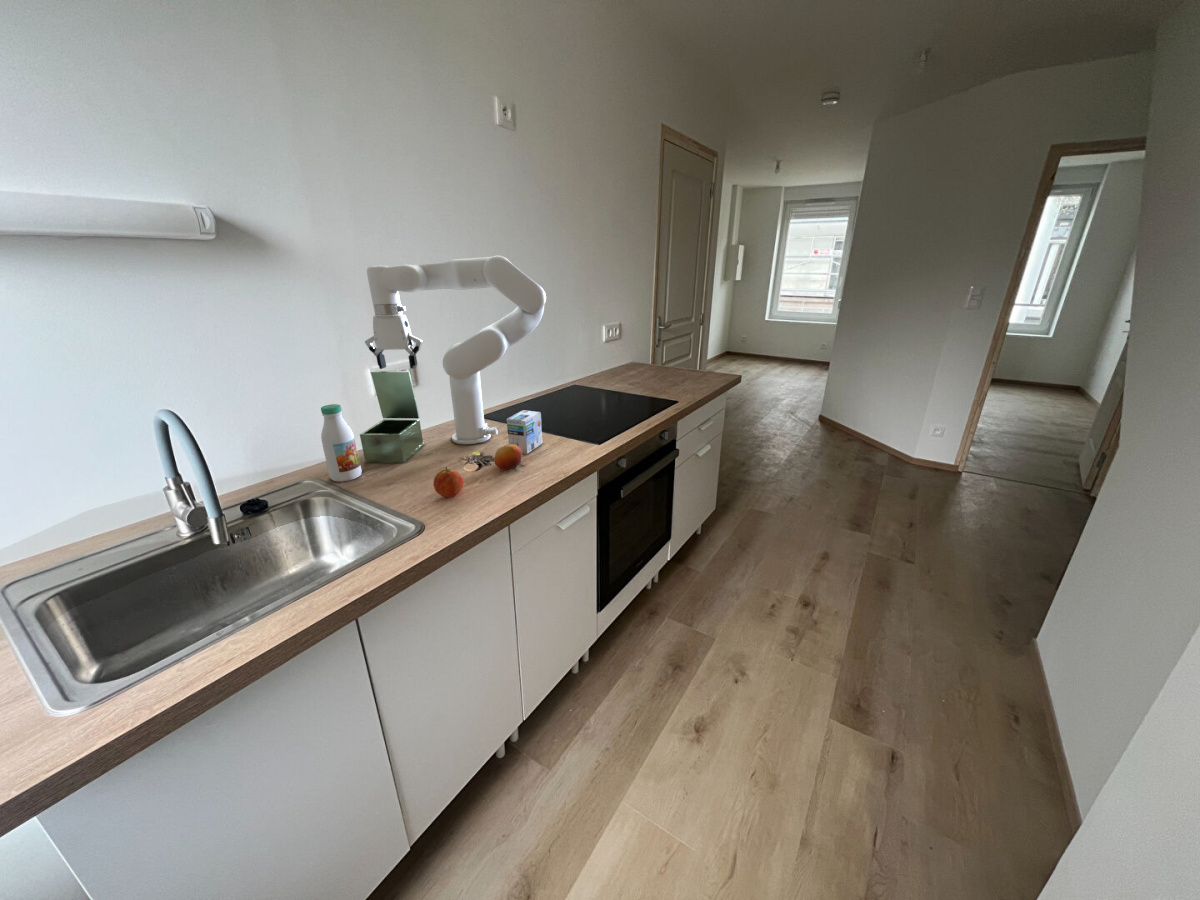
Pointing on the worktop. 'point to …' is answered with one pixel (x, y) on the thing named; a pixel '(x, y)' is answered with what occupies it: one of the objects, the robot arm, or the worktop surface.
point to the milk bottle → (339, 445)
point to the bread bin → (392, 441)
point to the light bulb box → (525, 430)
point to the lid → (395, 394)
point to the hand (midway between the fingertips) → (398, 367)
